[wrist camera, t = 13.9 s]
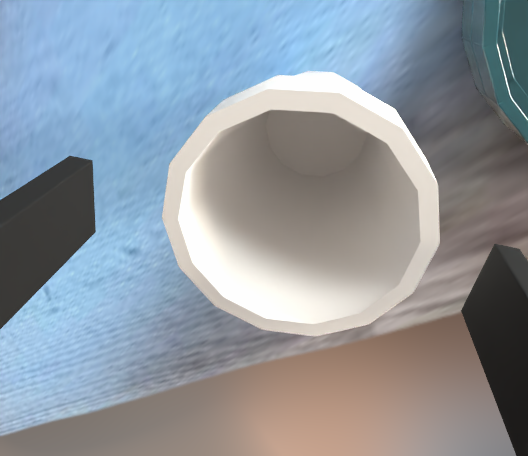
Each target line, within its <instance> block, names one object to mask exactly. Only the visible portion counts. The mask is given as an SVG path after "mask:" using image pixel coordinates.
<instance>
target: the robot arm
mask: <svg viewBox="0 0 528 456" xmlns="http://www.w3.org/2000/svg"><path fill="white" fill-rule="evenodd" d="M94 233H95V209H94V186H93V163H92V160H88V159H83V158H78V157H73V156H69V157H67V158H66V159H64V160H63V161H61V162H60V163H58V164H56V165H55V166H53V167H52V168H50V169H49V170H47V171H45V172H44V173H42V174H41V175H39V176H38V177H36V178H35V179H33V180H31V181H30V182H28V183H27V184H25V185H24V186H22V187H20V188H19V189H17V190H16V191H14V192H13V193H11V194H9V195H8V196H6V197H5V198H3V199H2V200H0V329H1V328H2V327H3V326H4V325H5V324H6V323H7V322H8V321H9V320H10V319H11V318H12V317H13V316H14V315H15V314H16V313H17V312H18V311H19V310H20V309H21V308H22V306H23V305H24V304H25V303H26V302H27V301H28V300H29V299H30V298H31V297H32V296H33V295H34V294H35V293H36V292H37V291H38V290H39V289H40V288H41V287H42V286H43V285H44V284H45V283H46V282H47V281H48V280H49V279H50V278H51V277H52V276H53V275H54V274H55V273H56V272H57V271H58V270H59V269H60V268H61V267H62V266H63V265H64V264H65V263H66V262H67V261H68V260H69V259H70V257H71V256H72V255H73V254H74V253H75V252H76V251H77V250H78V249H79V248H80V247H81V246H82V245H83V244H84V243H85V242H86V241H87V240H88V239H89V238H90V237H91V236H92V235H93V234H94ZM461 312H462V314H463V316H464V319H465V322H466V324H467V327H468V330H469V332H470V335H471V338H472V340H473V343H474V346H475V348H476V351H477V353H478V356H479V359H480V361H481V364H482V366H483V369H484V372H485V374H486V377H487V380H488V382H489V385H490V388H491V390H492V392H493V395H494V398H495V401H496V403H497V406H498V408H499V411H500V414H501V416H502V419H503V422H504V424H505V427H506V429H507V432H508V434H509V437H510V440H511V442H512V445H513V448H514V450H515V453H516V456H528V261H527V259H526V258H525V256H524V255H523V254H522V252H521V251H520V249H517V248H512V247H508V246H503V245H498V244H494V246H493V248H492V250H491V252H490V254H489V256H488V258H487V260H486V262H485V264H484V266H483V268H482V270H481V272H480V274H479V276H478V278H477V280H476V282H475V284H474V286H473V288H472V290H471V292H470V294H469V296H468V298H467V300H466V302H465V304H464V306H463V308H462V310H461Z"/></svg>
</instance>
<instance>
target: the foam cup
mask: <svg viewBox="0 0 528 456" xmlns="http://www.w3.org/2000/svg"><path fill="white" fill-rule="evenodd" d="M162 219H163V222H164V225H165V228H166V231H167V234H168V237H169V239H170V242H171V245H172V248H173V251H174V254H175V257H176V260H177V263H178V265H179V268H180V269H181V270H182V271H183V272H184V273H185V274H186V275H187V276H188V277H189V278H190V280H191V281H192V282H193V283H194V284H195V285H196V286H197V287H198V288H199V289H200V290H201V291H202V293H203V294H204V295H205V296H206V297H207V298H208V299H209V300H210V301H211V302H212V303H213V305H214V306H216V307H218V308H220V309H222V310H224V311H226V312H228V313H230V314H232V315H234V316H236V317H238V318H240V319H242V320H244V321H246V322H248V323H250V324H252V325H254V326H256V327H258V328H260V329H262V330H269V331H276V332H284V333H292V334H300V335H308V336H320V335H325V334H329V333H333V332H338V331H342V330H346V329H351V328H355V327H360V326H364V325H368V324H370V323H372V322H373V321H374V320H376V319H377V318H379V317H380V316H381V315H383V314H384V313H386V312H387V311H388V310H390V309H391V308H393V307H394V306H396V305H397V304H398V303H400V302H401V301H403V300H404V299H405V298H407V297H408V296H410V295H411V294H412V293H414V291H415V289H416V287H417V285H418V283H419V282H420V280H421V278H422V276H423V274H424V272H425V270H426V269H427V267H428V265H429V263H430V261H431V259H432V257H433V256H434V254H435V252H436V250H437V248H438V246H439V244H440V234H439V199H438V183H437V181H436V179H435V177H434V175H433V173H432V170H431V168H430V166H429V164H428V162H427V160H426V158H425V156H424V155H423V153H422V151H421V150H420V148H419V147H418V145H417V143H416V142H415V140H414V139H413V137H412V135H411V134H410V132H409V131H408V129H407V127H406V126H405V124H404V123H403V121H402V119H401V118H400V116H399V115H398V113H397V111H396V110H395V109H394V108H392V107H391V106H389V105H387V104H385V103H384V102H382V101H380V100H378V99H377V98H375V97H373V96H371V95H370V94H368V93H366V92H364V91H363V90H362V89H361V88H359V87H358V86H357V85H355V84H354V83H352V82H350V81H348V80H347V79H345V78H343V77H341V76H340V75H338V74H336V73H334V72H320V71H306V72H303V73H301V74H298V75H295V76H286V75H277V76H275V77H273V78H270V79H268V80H266V81H264V82H262V83H259V84H257V85H255V86H253V87H251V88H248V89H246V90H244V91H242V92H240V93H237V94H235V95H233V96H231V97H228V98H226V99H224V100H223V101H222V102H221V103H220V104H219V105H218V106H216V107H215V108H214V109H213V110H212V111H211V112H210V113H209V114H208V115H207V116H206V117H205V118H204V119H203V121H202V122H201V123H200V125H199V126H198V127H197V128H196V130H195V131H194V132H193V134H192V135H191V136H190V138H189V139H188V140H187V142H186V143H185V144H184V145H183V147H182V148H181V149H180V151H179V152H178V153H177V155H176V156H175V157H174V159H173V160H172V161H171V163H170V164H169V171H168V178H167V185H166V192H165V200H164V207H163V214H162Z"/></svg>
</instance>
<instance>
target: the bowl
mask: <svg viewBox="0 0 528 456" xmlns="http://www.w3.org/2000/svg"><path fill="white" fill-rule="evenodd" d="M462 37H463V38H462V41H463V45H464V48H465V52H466V55H467V59H468V62H469V66H470V69H471V73H472V76H473V79H474V83H475V86H476V89H477V90H478V91H479V92H480V94H481V95H482V96H483V98H484V99H485V100H486V102H487V103H488V104H489V105H490V107H491V108H492V109H493V111H494V112H495V113H496V115H497V116H498V117H499V118H500V120H501V121H502V122H503V124H504V125H505V126H507V127H508V128H509V129H510V130H511V131H512V132H513V133H515V134H516V135H517V136H518V137H519V138H520V139H522V140H523V141H524V142H525V143H526V144H527V145H528V0H463V16H462Z"/></svg>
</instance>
